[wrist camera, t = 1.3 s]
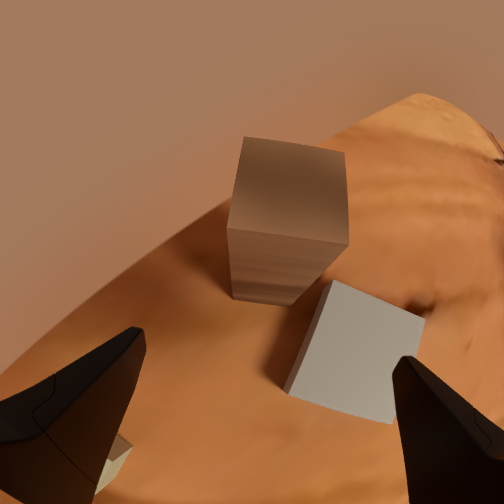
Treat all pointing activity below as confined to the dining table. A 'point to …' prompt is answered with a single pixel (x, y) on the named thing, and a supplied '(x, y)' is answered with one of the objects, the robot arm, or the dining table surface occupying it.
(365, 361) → the slate slab
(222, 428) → the dining table surface
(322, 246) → the walnut pillar
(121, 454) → the sage cube
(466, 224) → the dining table surface
